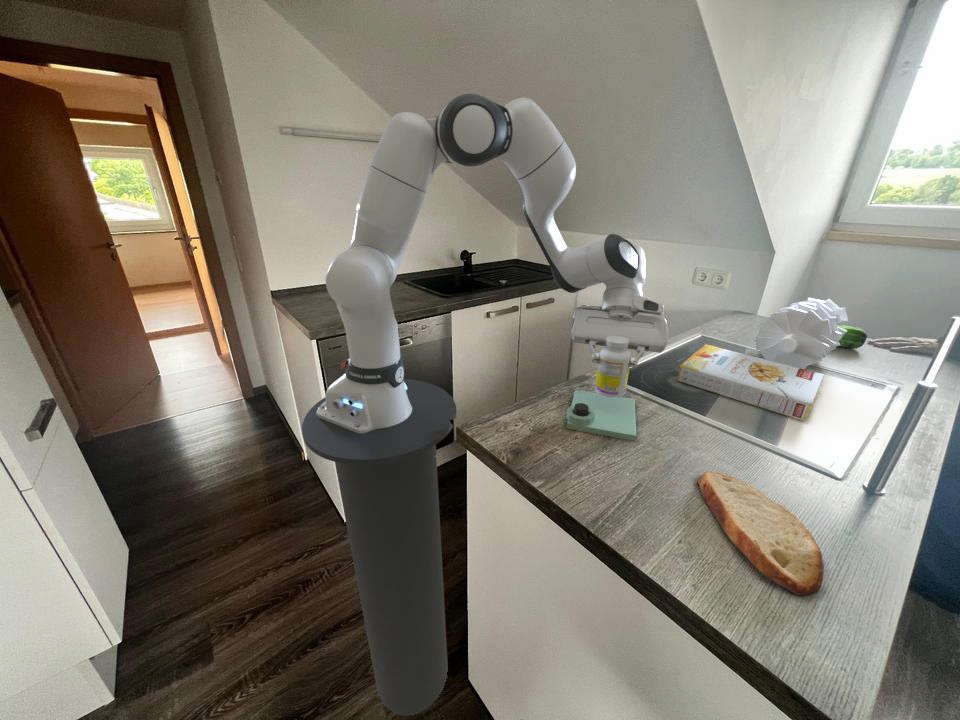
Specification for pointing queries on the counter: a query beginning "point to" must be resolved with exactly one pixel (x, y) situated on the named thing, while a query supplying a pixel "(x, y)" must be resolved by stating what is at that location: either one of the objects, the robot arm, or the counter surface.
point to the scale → (604, 415)
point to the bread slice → (765, 533)
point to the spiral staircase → (801, 333)
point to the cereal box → (753, 380)
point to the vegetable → (852, 337)
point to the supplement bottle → (613, 367)
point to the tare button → (581, 409)
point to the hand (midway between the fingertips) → (614, 364)
